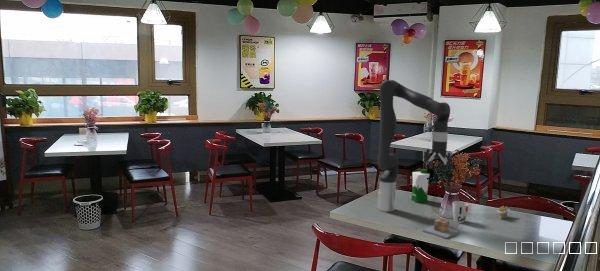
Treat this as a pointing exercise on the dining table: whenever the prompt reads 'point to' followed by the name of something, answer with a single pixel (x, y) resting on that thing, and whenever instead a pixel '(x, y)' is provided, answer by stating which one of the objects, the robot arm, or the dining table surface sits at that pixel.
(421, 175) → the milk carton
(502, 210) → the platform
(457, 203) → the cup
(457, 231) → the grey mat
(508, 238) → the dining table surface
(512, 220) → the dining table surface
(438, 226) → the walnut cube
